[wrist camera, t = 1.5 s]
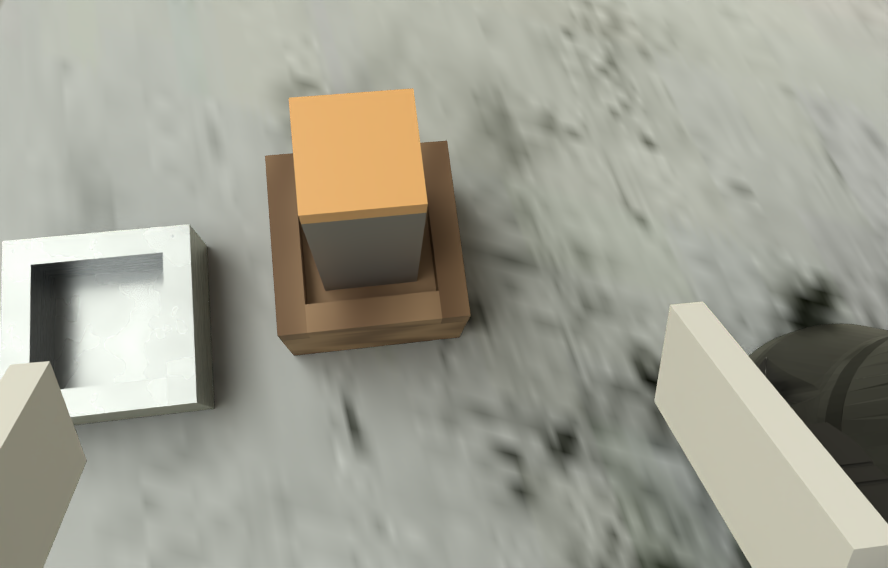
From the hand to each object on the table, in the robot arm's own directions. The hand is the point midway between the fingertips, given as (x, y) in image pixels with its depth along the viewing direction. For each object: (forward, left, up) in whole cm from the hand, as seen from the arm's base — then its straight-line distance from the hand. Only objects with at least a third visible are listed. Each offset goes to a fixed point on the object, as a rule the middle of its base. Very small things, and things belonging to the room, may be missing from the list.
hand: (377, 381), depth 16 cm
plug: (-2, -10, -23) cm, 25 cm away
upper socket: (-2, -10, -28) cm, 30 cm away
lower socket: (+13, -10, -28) cm, 32 cm away
